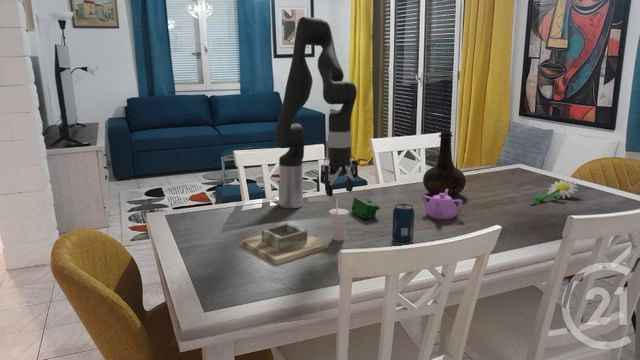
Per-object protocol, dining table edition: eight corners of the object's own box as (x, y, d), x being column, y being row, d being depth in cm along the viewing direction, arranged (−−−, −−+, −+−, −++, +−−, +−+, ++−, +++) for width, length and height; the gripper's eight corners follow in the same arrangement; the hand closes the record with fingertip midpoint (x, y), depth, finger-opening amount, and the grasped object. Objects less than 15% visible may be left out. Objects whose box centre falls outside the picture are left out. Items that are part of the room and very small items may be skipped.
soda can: (390, 236, 172) (392, 203, 169) (411, 237, 171) (413, 203, 168) (393, 244, 165) (394, 209, 162) (414, 244, 165) (416, 209, 162)
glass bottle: (469, 193, 223) (474, 130, 216) (456, 203, 209) (461, 136, 202) (431, 187, 233) (434, 126, 226) (416, 196, 218) (419, 132, 211)
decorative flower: (545, 215, 201) (584, 193, 217) (545, 203, 200) (584, 182, 216) (516, 208, 211) (555, 188, 227) (516, 198, 210) (555, 178, 226)
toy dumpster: (373, 228, 193) (383, 210, 188) (359, 226, 190) (369, 208, 186) (362, 208, 202) (372, 190, 197) (349, 206, 199) (358, 188, 195)
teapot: (446, 209, 201) (447, 187, 199) (464, 220, 188) (466, 197, 186) (418, 211, 198) (420, 190, 196) (436, 223, 185) (437, 200, 183)
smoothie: (328, 235, 173) (328, 196, 169) (346, 235, 173) (347, 195, 170) (330, 242, 167) (330, 201, 163) (349, 241, 167) (350, 201, 164)
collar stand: (241, 245, 165) (240, 229, 163) (291, 231, 177) (290, 216, 176) (277, 264, 150) (276, 247, 148) (328, 247, 162) (328, 231, 161)
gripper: (347, 140, 169) (347, 187, 173) (314, 145, 160) (315, 195, 164) (363, 143, 164) (363, 192, 168) (330, 149, 155) (330, 200, 159)
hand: (339, 193), depth 166 cm, fingers open, 8 cm apart
